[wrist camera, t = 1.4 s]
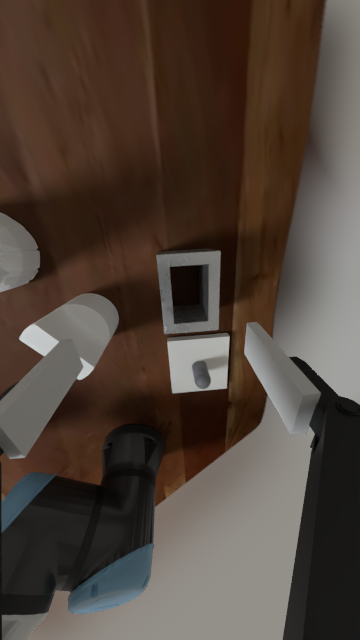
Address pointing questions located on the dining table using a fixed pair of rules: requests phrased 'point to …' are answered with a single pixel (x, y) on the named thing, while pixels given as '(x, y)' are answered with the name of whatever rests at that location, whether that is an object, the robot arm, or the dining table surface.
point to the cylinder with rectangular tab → (76, 329)
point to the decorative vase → (16, 254)
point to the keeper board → (198, 352)
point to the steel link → (209, 288)
